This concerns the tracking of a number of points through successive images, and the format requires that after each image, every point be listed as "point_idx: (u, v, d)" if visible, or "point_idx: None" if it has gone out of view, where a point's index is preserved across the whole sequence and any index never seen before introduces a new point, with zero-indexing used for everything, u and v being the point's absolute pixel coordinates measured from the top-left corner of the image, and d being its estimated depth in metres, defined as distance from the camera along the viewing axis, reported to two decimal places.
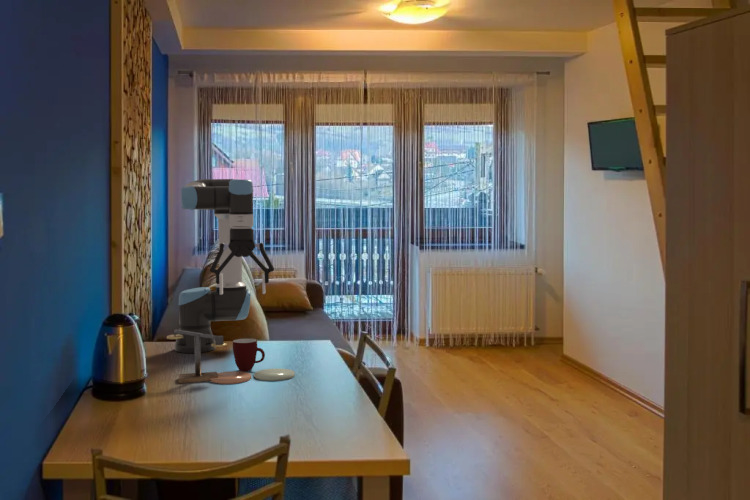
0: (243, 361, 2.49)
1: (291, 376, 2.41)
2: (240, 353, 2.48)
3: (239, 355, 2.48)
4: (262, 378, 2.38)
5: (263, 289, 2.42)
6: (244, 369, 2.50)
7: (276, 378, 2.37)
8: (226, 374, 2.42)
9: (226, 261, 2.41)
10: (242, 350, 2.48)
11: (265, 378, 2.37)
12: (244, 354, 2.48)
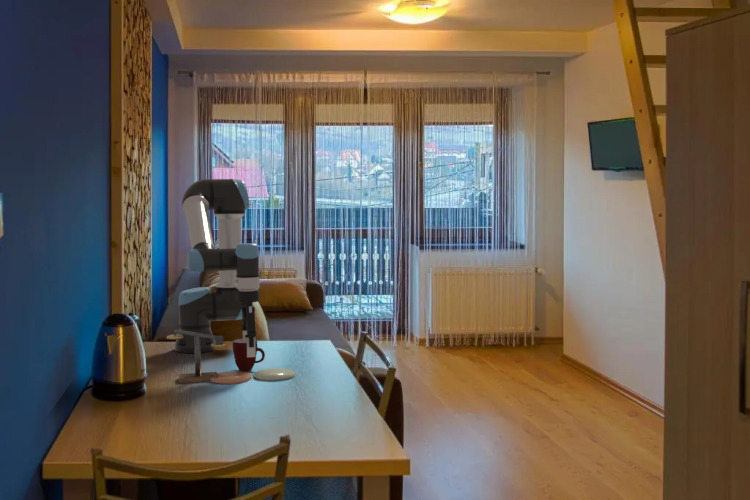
0: (243, 361, 2.49)
1: (291, 376, 2.41)
2: (240, 353, 2.48)
3: (239, 355, 2.48)
4: (262, 378, 2.38)
5: (247, 352, 2.45)
6: (244, 369, 2.50)
7: (276, 378, 2.37)
8: (226, 374, 2.42)
9: (243, 319, 2.55)
10: (242, 350, 2.48)
11: (265, 378, 2.37)
12: (244, 354, 2.48)
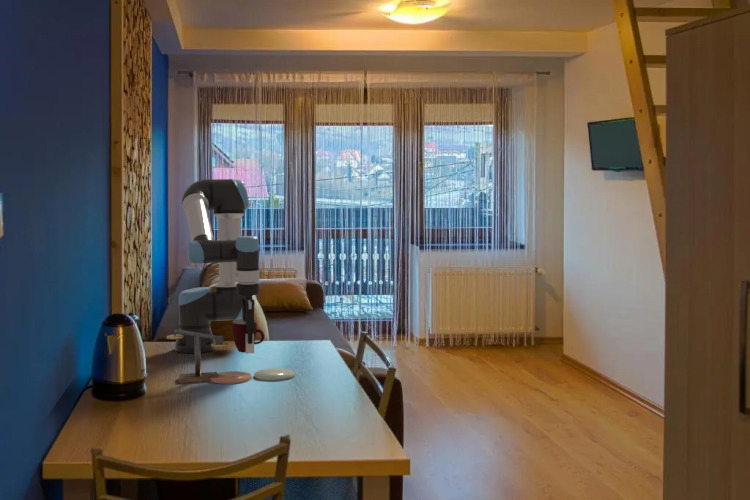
0: (242, 342, 2.49)
1: (291, 376, 2.41)
2: (239, 334, 2.48)
3: (239, 336, 2.48)
4: (262, 378, 2.38)
5: None
6: (243, 350, 2.50)
7: (276, 378, 2.37)
8: (226, 374, 2.42)
9: (243, 315, 2.54)
10: (242, 331, 2.48)
11: (265, 378, 2.37)
12: (243, 335, 2.48)
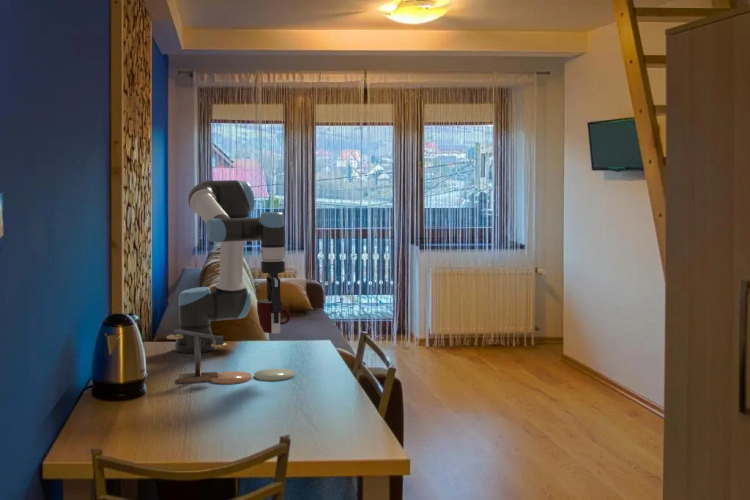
0: (268, 322, 2.39)
1: (291, 376, 2.41)
2: (265, 313, 2.38)
3: (264, 316, 2.38)
4: (262, 378, 2.38)
5: (271, 328, 2.38)
6: (269, 330, 2.40)
7: (276, 378, 2.37)
8: (226, 374, 2.42)
9: (268, 295, 2.45)
10: (268, 310, 2.38)
11: (265, 378, 2.37)
12: (269, 315, 2.38)
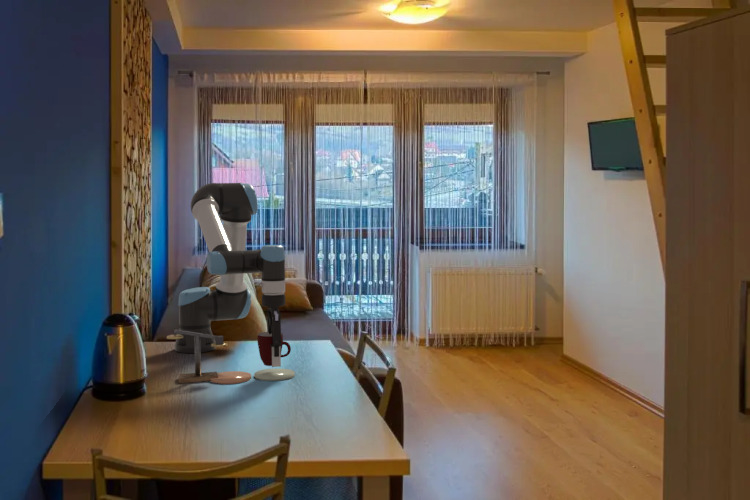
0: (268, 355, 2.39)
1: (291, 376, 2.41)
2: (265, 347, 2.39)
3: (265, 349, 2.39)
4: (262, 378, 2.38)
5: (272, 362, 2.39)
6: (269, 363, 2.41)
7: (276, 378, 2.37)
8: (226, 374, 2.42)
9: (268, 327, 2.46)
10: (268, 344, 2.38)
11: (265, 378, 2.37)
12: (270, 348, 2.39)
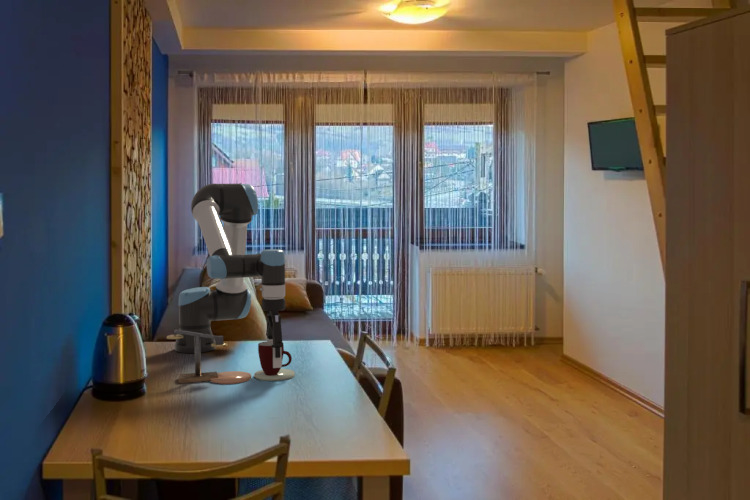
0: (269, 365, 2.38)
1: (291, 376, 2.41)
2: (266, 356, 2.38)
3: (265, 358, 2.38)
4: (262, 378, 2.38)
5: (273, 363, 2.36)
6: (270, 373, 2.39)
7: (276, 378, 2.37)
8: (226, 374, 2.42)
9: (268, 328, 2.47)
10: (268, 353, 2.37)
11: (265, 378, 2.37)
12: (270, 357, 2.38)
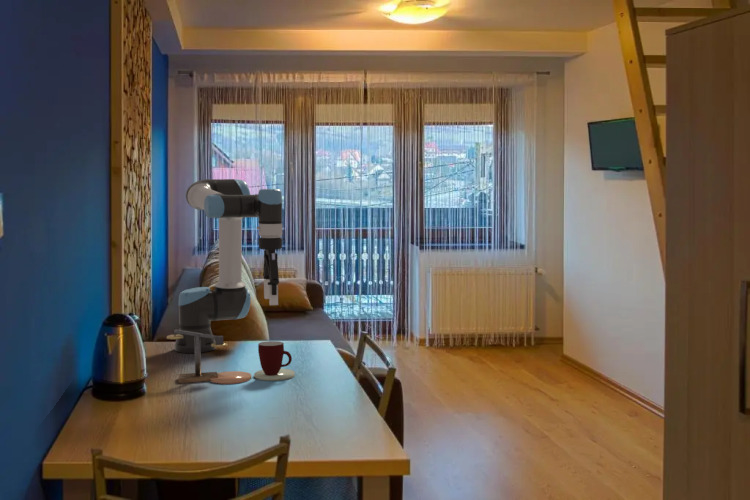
0: (269, 365, 2.38)
1: (291, 376, 2.41)
2: (266, 356, 2.38)
3: (265, 358, 2.38)
4: (262, 378, 2.38)
5: (269, 300, 2.39)
6: (270, 373, 2.39)
7: (276, 378, 2.37)
8: (226, 374, 2.42)
9: (265, 268, 2.49)
10: (269, 353, 2.37)
11: (265, 378, 2.37)
12: (270, 357, 2.38)
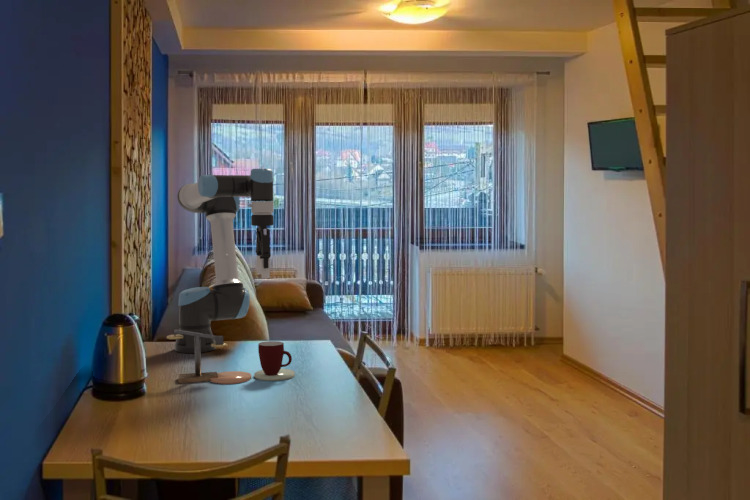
0: (269, 365, 2.38)
1: (291, 376, 2.41)
2: (266, 356, 2.38)
3: (265, 358, 2.38)
4: (262, 378, 2.38)
5: (261, 273, 2.52)
6: (270, 373, 2.39)
7: (276, 378, 2.37)
8: (226, 374, 2.42)
9: (257, 244, 2.62)
10: (269, 353, 2.37)
11: (265, 378, 2.37)
12: (270, 357, 2.38)
